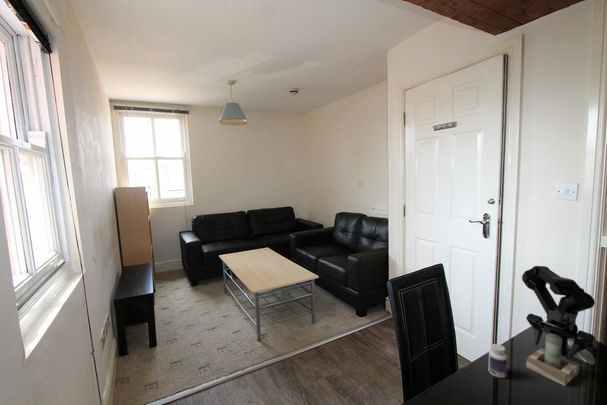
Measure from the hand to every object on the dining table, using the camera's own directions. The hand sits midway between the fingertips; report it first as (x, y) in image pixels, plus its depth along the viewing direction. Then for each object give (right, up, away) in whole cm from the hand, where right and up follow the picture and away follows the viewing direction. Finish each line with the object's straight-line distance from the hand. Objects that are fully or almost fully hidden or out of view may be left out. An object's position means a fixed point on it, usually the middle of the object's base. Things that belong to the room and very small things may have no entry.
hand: (551, 351), depth 103 cm
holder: (+1, -7, +2) cm, 8 cm away
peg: (+2, -7, +2) cm, 8 cm away
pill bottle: (-18, -8, +1) cm, 20 cm away
